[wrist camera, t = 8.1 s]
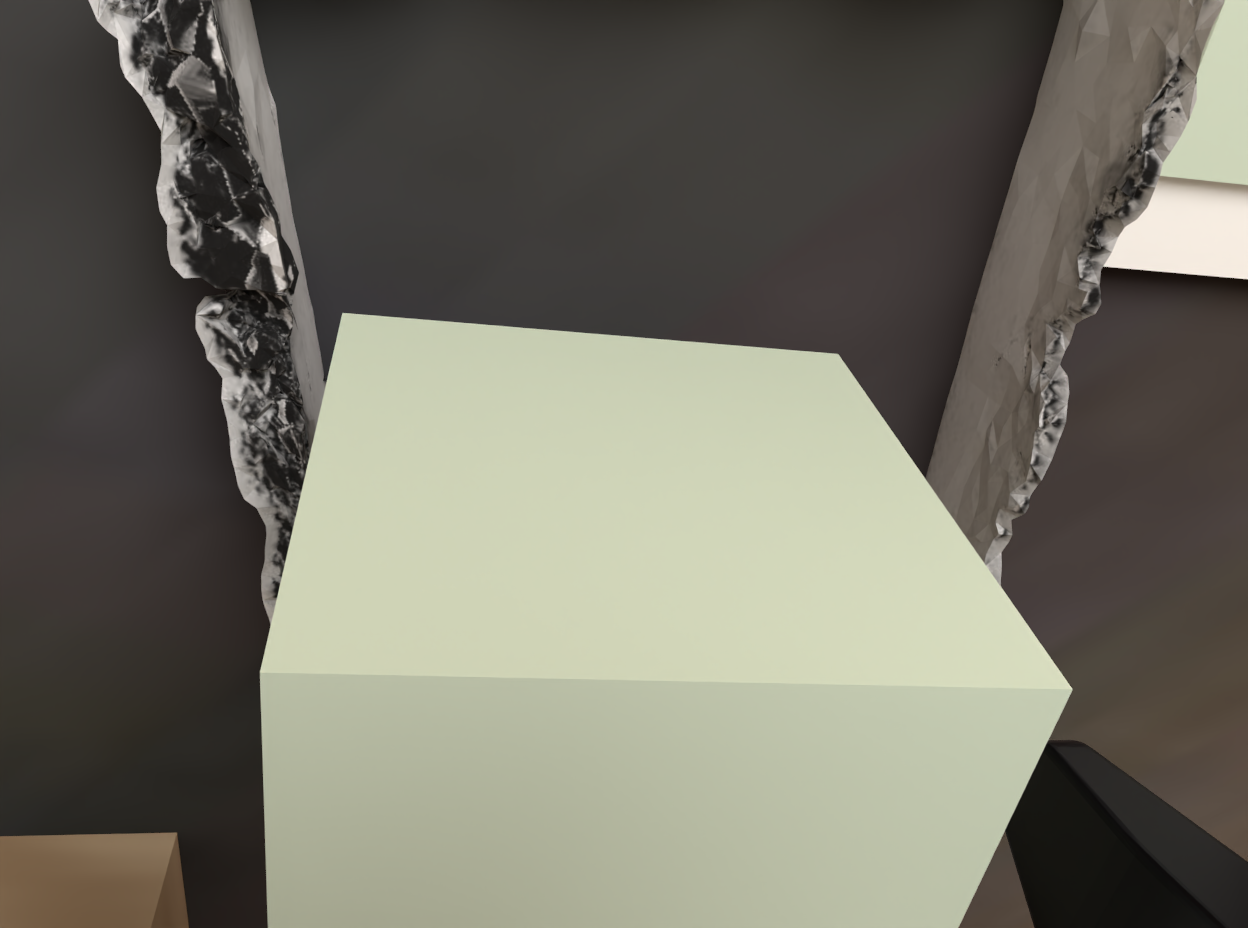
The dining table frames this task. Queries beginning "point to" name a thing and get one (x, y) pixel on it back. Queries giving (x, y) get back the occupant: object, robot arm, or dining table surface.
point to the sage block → (630, 647)
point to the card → (1202, 172)
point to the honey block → (92, 881)
